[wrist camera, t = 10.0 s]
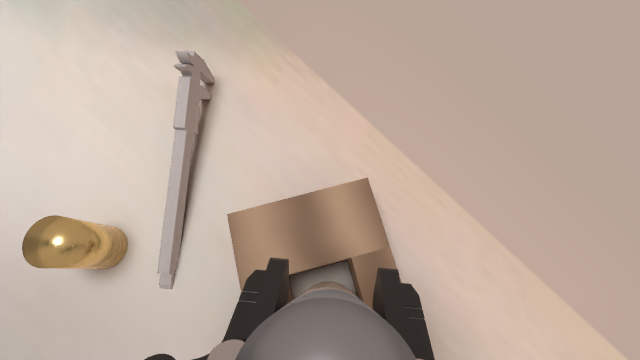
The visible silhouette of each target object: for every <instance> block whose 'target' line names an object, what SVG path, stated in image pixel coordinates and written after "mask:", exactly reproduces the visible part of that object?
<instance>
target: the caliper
mask: <svg viewBox="0 0 640 360" xmlns="http://www.w3.org/2000/svg"><path fill="white" fill-rule="evenodd" d="M176 55H177V57H178V59H179V61H180V62H181V63H182V64H175V65H174V67H175V68H176V69H178V70H179V71H181V74H182V77H179V83H178V91H177V99H176V108H175V116H174V125H173V127H174V129H176V130H175V137H174V145H173V153H172V161H171V169H170V177H169V185H168V192H167V200H166V208H165V216H164V224H163V232H162V240H161V248H160V256H159V264H158V272H157V273H160V281H159V285H160V288H167V289H172V287H173V281H174V273H175V272H176V268H177V263H178V258H179V253H180V245H181V236H182V228H183V219H184V211H185V202H186V194H187V186H188V177H189V169H190V161H191V153H192V145H193V136H194V134H198V123H199V119H200V112H199V101H200V99H211V97H212V95H211V94H210V93H209V91H208V90H206V89H205V88H204V87H202V86H201V85H200V79H201V80H202V81H203V82H204V83H213V84H214V77H213V75H212V74H211V72H210V70H209V68H208V67H207V65H206V63H205V62H204V60H203V59H202V58H201V57H200V56H199V55H197V54H196V53H195V52H194V51H176Z"/></svg>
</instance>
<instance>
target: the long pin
mask: <svg viewBox="0 0 640 360" xmlns="http://www.w3.org/2000/svg"><path fill="white" fill-rule="evenodd" d="M235 360H416V358H415V356H414V354H413V352H412V351H411V349H410V348H409V346H408V345H407V343H406V342H405V340H404V339H403V338H402V337H401V335H400V334H399V333H398V332H397V331H396V330H395V329H394V328H393V327H392V326H391V325H390V324H389V323H388V322H387V321H386V320H385V319H383V318H382V317H381V316H380V315H379V314H377V313H376V312H375V311H374V310H372V309H371V308H370V307H369V306H368V305H366V304H365V303H364V302H363V301H362V300H360V299H359V298H358V297H357V296H356V295H354V294H353V293H352V292H351V291H349V290H348V289H347V288H346V287H344V286H343V285H341V284H338V283H335V282H322V283H318V284H316V285H314V286H312V287H311V288H309V289H308V290H306V291H305V292H304V293H302V294H301V295H299V296H298V297H297V298H295V299H294V300H292V301H291V302H290V303H288V304H287V305H285V306H284V307H282V308H281V309H280V310H278V311H277V312H275V313H274V314H273V315H271V316H270V317H268V318H267V319H266V320H265V321H264V322H262V323H261V324H260V325H259V326H258V327H257V328H256V329H255V330H254V332H253V333H252V334H251V335H250V336H249V337H248V339H247V340H246V342H245V343H244V345H243V346H242V348H241V349H240V351H239V353H238V355H237V357H236V359H235Z"/></svg>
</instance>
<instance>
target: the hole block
mask: <svg viewBox="0 0 640 360" xmlns="http://www.w3.org/2000/svg"><path fill="white" fill-rule="evenodd" d="M227 216H228V222H229V227H230V233H231V238H232V244H233V249H234V255H235V260H236V266H237V271H238V277H239V282H240V288H241V293H242V291H243V288H244V285H245V282H246V280H247V278H248V277H249V276H250V275H251V274H252V273H253V272H254V271H255V270H266V268H267V265H268V262H269V259H270V258H271V257H272V258H283V259H289V275H293V274H297V273H300V272H304V271H308V270H311V269H315V268H318V267H322V266H326V265H329V264H333V263H337V262H340V261H344V260H348V264H349V268H350V271H351V275H352V278H353V282H354V285H355V289H356V293H357V296H358V298H359V299H360V300H362V301H363V302H364V303H365V304H366V305H368V306H369V307H370V308H371V309H372V310H373V293H374V287H375V282H376V276H377V270H378V268H379V267H380V268H391V269H397V268H396V264H395V261H394V258H393V255H392V252H391V249H390V246H389V243H388V240H387V236H386V233H385V230H384V227H383V224H382V221H381V218H380V215H379V212H378V208H377V205H376V202H375V199H374V196H373V193H372V190H371V187H370V184H369V181H368V178H364V179H361V180H357V181H353V182H349V183H345V184H341V185H338V186H334V187H330V188H326V189H322V190H318V191H315V192H311V193H307V194H303V195H299V196H296V197H292V198H288V199H284V200H280V201H276V202H273V203H269V204H265V205H261V206H257V207H254V208H250V209H246V210H242V211H238V212H234V213H231V214H227ZM399 278H400V277H399ZM400 283H401V280H400ZM292 300H294V299H293V295H292V291H291V286H290V282H289V294H288V301H287V304H288V303H290V302H291V301H292Z"/></svg>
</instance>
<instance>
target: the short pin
mask: <svg viewBox="0 0 640 360" xmlns="http://www.w3.org/2000/svg"><path fill="white" fill-rule="evenodd" d="M127 246H128V242H127V238H126V235H125V234H124V232H123V231H121V230H120V229H118V228H115V227H110V226H106V225H101V224H96V223H91V222H86V221H81V220H76V219H72V218H67V217H62V216H48V217H45V218H43V219H41V220H39V221H37V222H36V223H35V224H34V225H33V226H32V227H31V228H30V229H29V230H28V232H27V233H26V235H25V238H24V241H23V246H22V251H23V255H24V258H25V260H26V261H27V262H28V263H29V264H30V265H32V266H34V267H37V268H78V269H106V268H110V267H113V266H114V265H116V264H117V263H119V262H120V261H121V260H122V258H123V257H124V255H125V253H126V251H127Z"/></svg>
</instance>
